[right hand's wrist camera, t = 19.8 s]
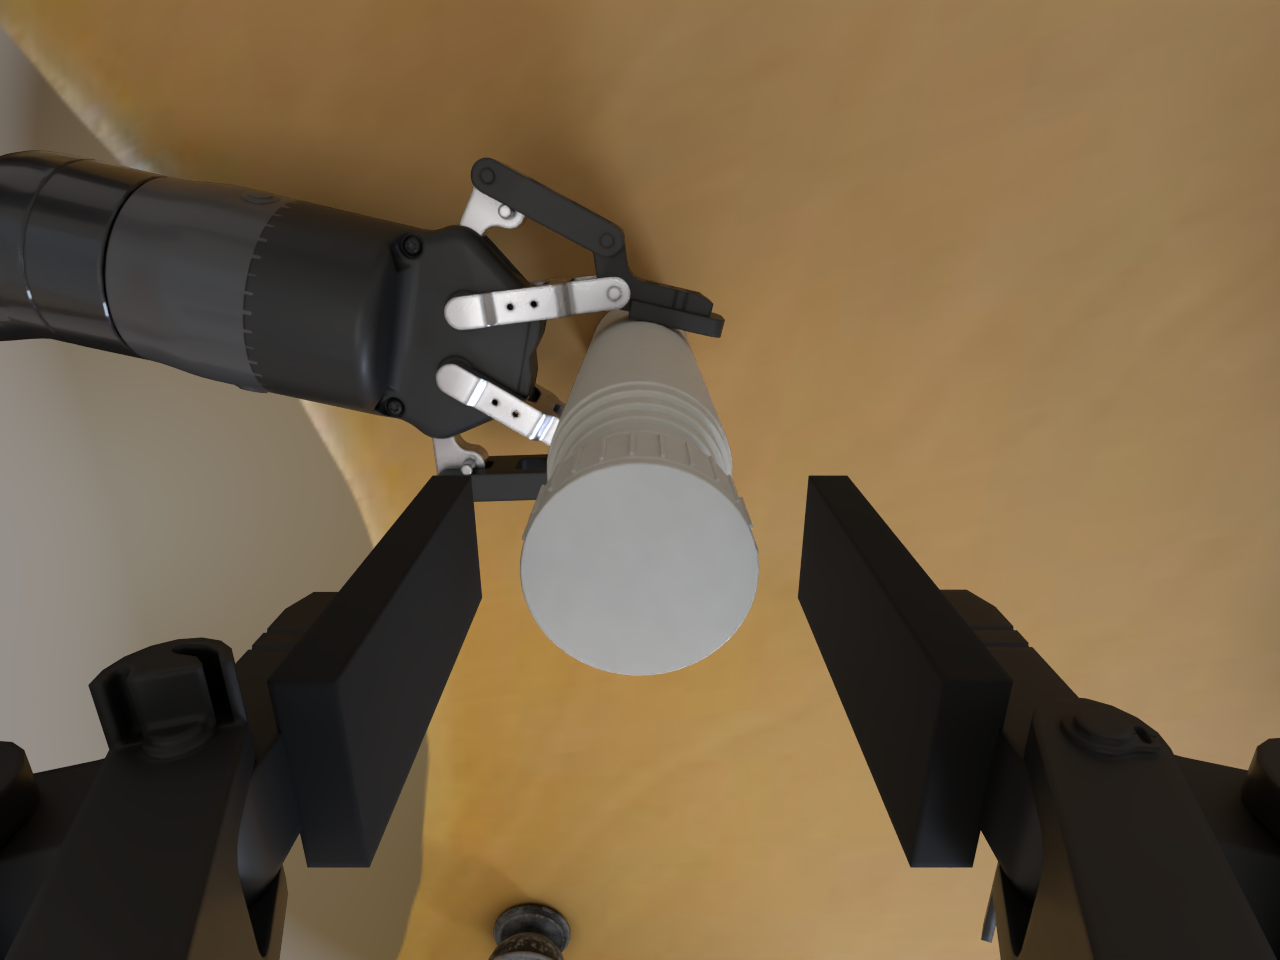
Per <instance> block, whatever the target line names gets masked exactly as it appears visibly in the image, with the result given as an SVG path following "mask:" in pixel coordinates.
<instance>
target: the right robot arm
mask: <svg viewBox="0 0 1280 960" xmlns="http://www.w3.org/2000/svg"><path fill="white" fill-rule="evenodd" d="M481 599H482V592H481V580H480V569H479V558H478V546H477V535H476V524H475V513H474V501H473V490H472V479H471V476H432V477H431V478H430V480H429V481H428V482H427V483H426V485H425V486H424V487H423V488H422V490H421V491H420V492H419V493H418V495H417V496H416V497H415V498H414V499H413V501H412V502H411V503H410V504H409V506H408V507H407V508H406V509H405V511H404V512H403V513H402V514H401V516H400V517H399V518H398V519H397V520H396V522H395V523H394V524H393V525H392V527H391V528H390V529H389V530H388V532H387V533H386V534H385V535H384V537H383V538H382V539H381V540H380V541H379V543H378V544H377V545H376V546H375V548H374V549H373V550H372V551H371V553H370V554H369V555H368V556H367V558H366V559H365V560H364V561H363V563H362V564H361V565H360V566H359V568H358V569H357V570H356V571H355V572H354V574H353V575H352V576H351V577H350V579H349V580H348V581H347V582H346V584H345V585H344V586H343V587H342V588H341V590H340V591H339V592H313V593H311V594H310V595H308V596H306V597H305V598H303V599H301V600H300V601H298V602H296V603H295V604H293V605H291V606H290V607H288V608H286V609H285V610H284V611H283V612H282V613H281V614H280V615H279V617H278V618H277V619H276V620H275V621H274V622H273V623H272V624H271V625H270V626H269V628H268V629H267V633H263V634H262V635H261V636H260V637H259V639H258V640H257V641H256V642H255V643H254V644H253V645H252V650H248V651H247V652H246V653H245V654H244V655H243V656H242V657H241V658H240V659H239V660H238V662H237V663H236V664H235V661H234V657H233V653H232V649H231V648H230V647H229V646H227V645H226V644H225V643H223V642H222V641H220V640H214V639H208V638H189V639H177V640H173V641H169V642H165V643H161V644H157V645H153V646H150V647H147V648H145V649H142V650H140V651H137V652H135V653H132V654H130V655H127V656H125V657H123V658H122V659H120V660H118V661H117V662H115V663H113V664H112V665H110V666H109V667H107V668H106V669H104V670H102V671H101V672H100V673H99V675H98V676H97V677H96V678H95V679H94V680H93V681H92V682H91V683H90V684H89V689H90V692H91V695H92V698H93V701H94V704H95V707H96V710H97V713H98V716H99V719H100V722H101V725H102V728H103V732H104V735H105V738H106V741H107V744H108V747H109V751H108V753H107V755H106V757H105V758H104V759H101V760H96V761H92V762H87V763H82V764H78V765H72V766H68V767H63V768H58V769H53V770H48V771H44V772H39V773H34V774H33V772H32V770H31V767H30V764H29V762H28V759H27V756H26V754H25V751H24V750H23V749H22V748H20V747H19V746H17V745H16V744H14V743H13V742H4V741H0V960H279V959H280V951H281V943H282V935H283V928H284V920H285V912H286V905H287V897H288V891H287V884H286V877H285V873H284V869H283V862H284V860H285V858H286V856H287V855H288V853H289V851H290V849H291V847H292V846H293V844H294V842H295V840H296V838H297V837H298V835H299V833H300V835H301V840H302V844H303V849H304V853H305V858H306V862H307V867H370V865H371V862H372V860H373V857H374V855H375V853H376V850H377V848H378V845H379V843H380V841H381V838H382V836H383V834H384V831H385V828H386V826H387V824H388V822H389V819H390V817H391V814H392V812H393V810H394V807H395V805H396V802H397V800H398V798H399V795H400V793H401V790H402V788H403V786H404V783H405V781H406V778H407V776H408V774H409V771H410V769H411V766H412V764H413V762H414V759H415V757H416V754H417V752H418V750H419V747H420V745H421V742H422V740H423V738H424V735H425V733H426V731H427V728H428V726H429V723H430V721H431V719H432V716H433V714H434V711H435V709H436V707H437V704H438V702H439V699H440V697H441V695H442V692H443V690H444V687H445V685H446V683H447V680H448V678H449V676H450V673H451V671H452V668H453V666H454V664H455V661H456V659H457V656H458V654H459V652H460V649H461V647H462V644H463V642H464V640H465V637H466V635H467V632H468V630H469V628H470V625H471V623H472V620H473V618H474V616H475V613H476V611H477V608H478V606H479V604H480V601H481ZM798 599H799V601H800V604H801V606H802V608H803V611H804V613H805V616H806V618H807V620H808V623H809V625H810V628H811V630H812V632H813V635H814V637H815V640H816V642H817V644H818V647H819V649H820V652H821V654H822V656H823V659H824V661H825V664H826V666H827V668H828V671H829V673H830V676H831V678H832V680H833V683H834V685H835V687H836V690H837V692H838V695H839V697H840V699H841V702H842V704H843V707H844V709H845V711H846V714H847V716H848V719H849V721H850V723H851V726H852V728H853V731H854V733H855V735H856V738H857V740H858V743H859V745H860V747H861V750H862V752H863V755H864V757H865V759H866V762H867V764H868V766H869V769H870V771H871V774H872V776H873V778H874V781H875V783H876V786H877V788H878V790H879V793H880V795H881V798H882V800H883V802H884V805H885V807H886V810H887V812H888V814H889V817H890V819H891V822H892V824H893V826H894V829H895V831H896V834H897V836H898V838H899V841H900V843H901V845H902V848H903V850H904V853H905V855H906V857H907V860H908V862H909V865H910V867H973V862H974V858H975V853H976V849H977V844H978V840H979V835H980V831H982V833H983V835H984V837H985V838H986V840H987V842H988V844H989V846H990V847H991V849H992V851H993V853H994V855H995V856H996V858H997V860H998V864H997V869H996V873H995V877H994V881H993V885H992V890H991V894H990V898H989V902H988V907H987V911H986V915H985V919H984V924H983V931H982V937H981V940H984V941H987V942H992V938H993V934H994V930H995V926H997V934H998V941H999V949H1000V957H1001V960H1280V738H1274V739H1268V740H1266V741H1265V742H1263V743H1262V744H1260V745H1259V746H1257V748H1256V751H1255V754H1254V756H1253V759H1252V762H1251V764H1250V767H1249V770H1243V769H1238V768H1233V767H1228V766H1223V765H1219V764H1214V763H1209V762H1204V761H1199V760H1194V759H1190V758H1185V757H1181V756H1177V755H1174V754H1173V752H1172V750H1171V748H1170V747H1169V746H1168V745H1167V743H1166V742H1165V741H1164V740H1163V738H1162V737H1161V736H1160V735H1159V733H1158V732H1156V731H1155V730H1154V729H1152V728H1151V727H1150V726H1148V725H1147V724H1145V723H1144V722H1143V721H1141V720H1140V719H1138V718H1137V717H1135V716H1133V715H1131V714H1129V713H1126V712H1124V711H1122V710H1120V709H1118V708H1116V707H1114V706H1111V705H1108V704H1104V703H1101V702H1097V701H1093V700H1090V699H1086V698H1079V697H1078V696H1077V695H1076V694H1075V693H1074V692H1073V691H1072V690H1071V689H1070V688H1069V687H1068V686H1067V684H1066V683H1065V682H1064V681H1063V680H1062V679H1061V678H1060V677H1059V676H1058V675H1057V674H1056V672H1055V671H1054V670H1053V669H1052V668H1051V667H1050V666H1049V665H1048V664H1047V663H1046V662H1045V660H1044V659H1043V658H1042V657H1041V656H1040V655H1039V654H1038V653H1037V652H1036V651H1035V650H1034V648H1033V647H1029V646H1028V642H1027V641H1026V640H1025V639H1024V638H1023V636H1022V635H1021V634H1020V633H1019V632H1018V631H1017V630H1013V626H1012V624H1011V623H1010V622H1009V621H1008V620H1007V619H1006V618H1005V617H1004V616H1003V615H1002V614H1001V612H1000V611H999V610H998V609H997V608H996V607H995V606H993V605H992V604H990V603H988V602H986V601H985V600H983V599H981V598H980V597H978V596H976V595H975V594H973V593H971V592H970V591H968V590H939V588H938V587H937V586H936V585H935V584H934V582H933V581H932V580H931V579H930V577H929V576H928V575H927V574H926V572H925V571H924V570H923V569H922V567H921V566H920V565H919V564H918V562H917V561H916V560H915V559H914V558H913V556H912V555H911V554H910V553H909V551H908V550H907V549H906V548H905V546H904V545H903V544H902V543H901V541H900V540H899V539H898V538H897V537H896V535H895V534H894V533H893V532H892V530H891V529H890V528H889V527H888V525H887V524H886V523H885V522H884V520H883V519H882V518H881V517H880V516H879V514H878V513H877V512H876V511H875V509H874V508H873V507H872V506H871V504H870V503H869V502H868V501H867V499H866V498H865V497H864V496H863V495H862V493H861V492H860V491H859V490H858V488H857V487H856V486H855V485H854V483H853V482H852V481H851V480H850V478H849V477H848V476H809V479H808V490H807V501H806V513H805V524H804V535H803V546H802V558H801V569H800V580H799V591H798Z"/></svg>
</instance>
